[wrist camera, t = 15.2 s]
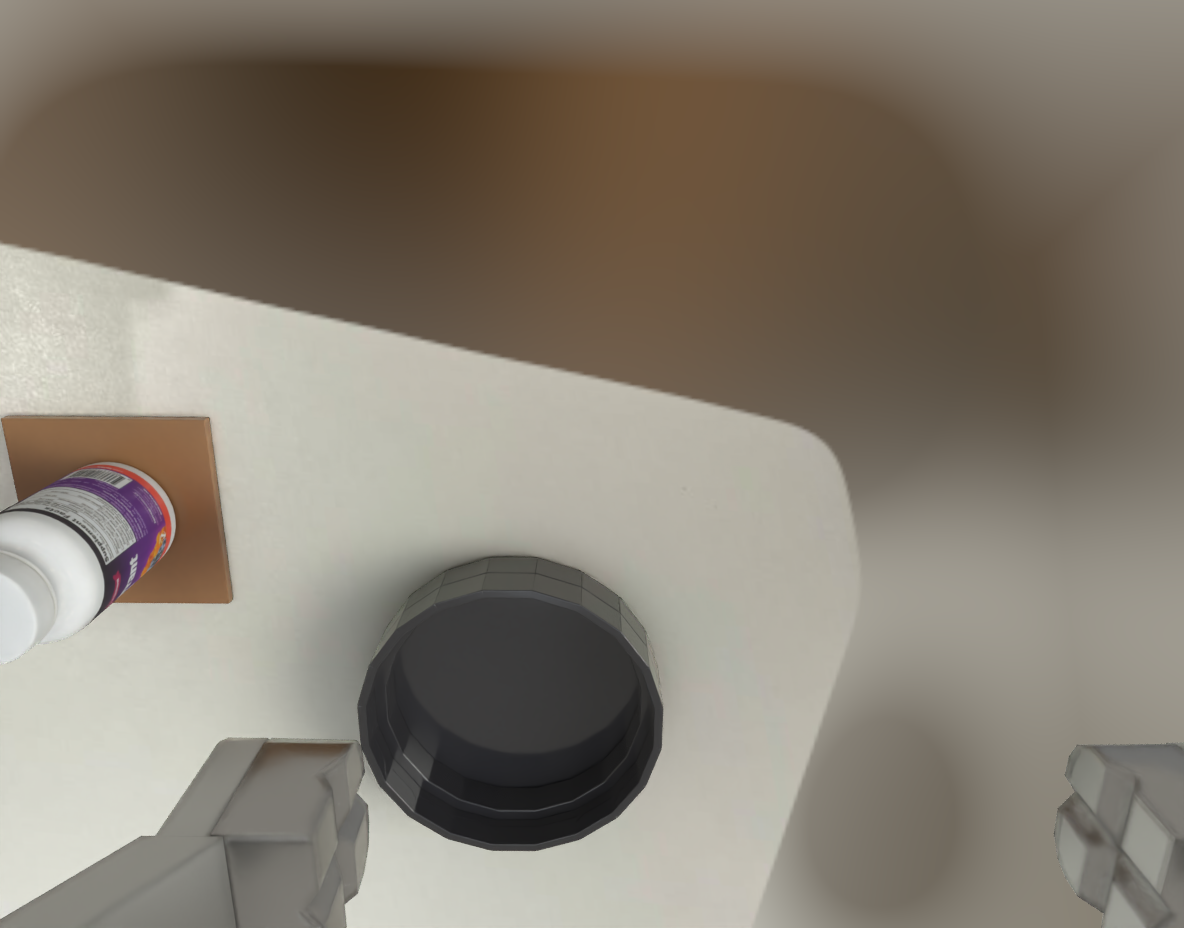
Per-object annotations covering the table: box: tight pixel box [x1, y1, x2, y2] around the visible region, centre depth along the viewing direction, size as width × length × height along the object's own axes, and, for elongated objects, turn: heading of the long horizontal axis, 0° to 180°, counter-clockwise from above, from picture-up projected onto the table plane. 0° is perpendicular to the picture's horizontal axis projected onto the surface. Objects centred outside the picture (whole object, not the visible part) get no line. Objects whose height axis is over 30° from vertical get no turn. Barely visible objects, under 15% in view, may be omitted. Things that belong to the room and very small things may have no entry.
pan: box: [357, 557, 663, 851], centre depth 41 cm, size 14×14×4 cm
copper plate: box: [1, 416, 233, 603], centre depth 40 cm, size 9×9×1 cm
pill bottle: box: [0, 462, 176, 665], centre depth 35 cm, size 5×5×10 cm
